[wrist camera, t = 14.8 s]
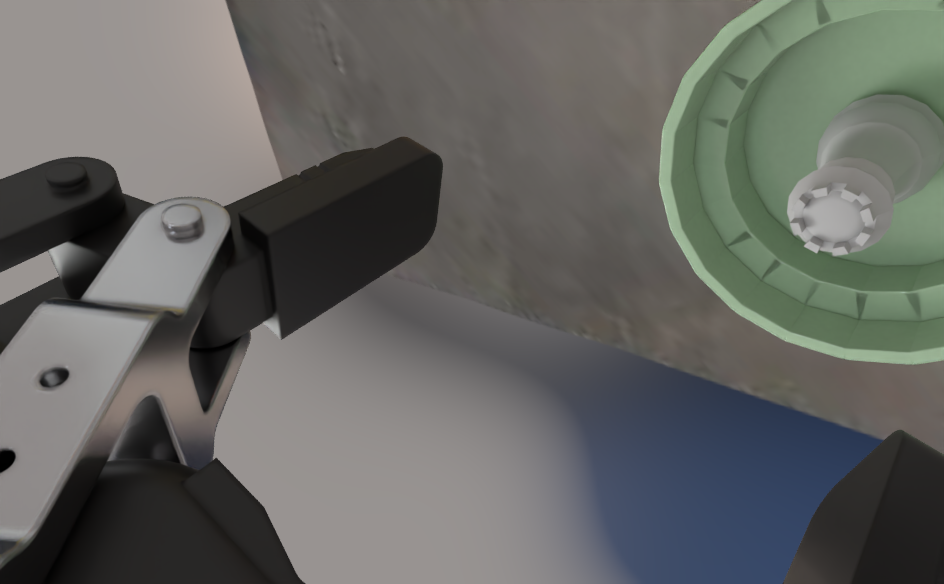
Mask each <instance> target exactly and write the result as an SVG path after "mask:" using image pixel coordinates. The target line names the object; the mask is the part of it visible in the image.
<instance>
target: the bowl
mask: <svg viewBox="0 0 944 584" xmlns="http://www.w3.org/2000/svg"><path fill="white" fill-rule="evenodd" d="M877 94H881V95H904V96H907V97H909V98H912V99H914V100H916V101H919V102H921V103H924V104H926V105H927V106H928V107H929V108H930V109H931V110H932V111H933V112H934V113H935V114H936V115H937V116H938V117H939V118H940V119H941V121H942V122H943V126H944V0H761V1H760V2H758V3H757V4H755V5H754V6H752V7H751V8H749V9H748V10H746V11H745V12H743V13H742V14H740V15H739V16H738V17H736V18H735V19H733V20H732V21H730V22H729V23H727V24H726V25H725V26H724V27H723V28H722V29H721V31H720V32H719V33H718V34H717V35H716V37H715V38H714V39H713V40H712V42H711V43H710V44H709V45H708V46H707V48H706V49H705V50H704V51H703V53H702V54H701V55H700V56H699V57H698V59H697V60H696V61H695V62H694V64H693V65H692V66H691V67H690V68H689V70H688V71H687V72H686V73H685V75H684V77H683V79H682V81H681V84H680V86H679V89H678V91H677V94H676V96H675V99H674V101H673V104H672V106H671V109H670V111H669V114H668V116H667V119H666V121H665V123H664V126H663V130H662V143H661V157H660V171H659V185H660V189H661V193H662V198H663V202H664V206H665V210H666V214H667V218H668V222H669V226H670V230H671V232H672V234H673V235H674V237H675V239H676V241H677V242H678V244H679V246H680V247H681V249H682V251H683V252H684V254H685V256H686V258H687V259H688V261H689V263H690V264H691V266H692V268H693V269H694V271H695V273H696V274H697V275H698V277H699V278H700V279H701V280H703V281H704V282H705V283H706V284H707V285H708V286H709V287H710V288H711V289H712V290H713V291H714V292H715V293H716V294H717V295H718V296H719V297H720V298H721V299H722V300H723V301H724V302H725V303H726V304H727V305H728V306H729V307H730V308H731V309H732V310H733V311H736V313H737V314H739V315H741V316H743V317H744V318H746V319H748V320H749V321H751V322H753V323H755V324H756V325H758V326H760V327H761V328H763V329H765V330H767V331H768V332H770V333H772V334H773V335H775V336H777V337H779V338H780V339H782V340H785V341H786V342H789V343H792V344H796V345H799V346H802V347H805V348H809V349H812V350H815V351H818V352H822V353H825V354H828V355H831V356H835V357H838V358H841V359H846V360H856V361H869V362H882V363H895V364H908V365H912V364H915V365H916V364H922V363H929V362H935V361H942V360H944V162H943V165H942V166H941V167H940V168H939V170H938V171H937V172H936V173H935V175H934V176H933V177H932V178H931V180H930V181H929V182H928V183H927V185H926V186H925V187H924V188H923V189H922V190H921V191H919V192H917V193H915V194H914V195H912V196H910V197H908V198H907V199H905V200H903V201H901V202H899V203H895V204H893V208H894V211H893V216H892V221H891V225H890V228H889V229H888V230H887V232H886V233H885V234H884V235H883V237H882V238H881V239H880V240H879V242H877V243H875V244H873V245H871V246H869V247H868V248H866V249H864V250H862V251H857V252H851V253H849V254H844V255H838V256H833V254H832V252H826V251H821V250H819V251H818V253H815V252H813V251H811V250H809V249H808V248H806V247H804V245H805V244H806V242H804V241H803V240H802V239H801V238H800V236H799V235H795V236H794V234H793V231H792V228H791V226H790V220H789V217H788V214H787V208H788V199H789V195H790V194H791V192H792V191H793V189H794V187H795V186H796V184H797V183H798V181H800V180H801V179H803V178H804V177H806V176H807V175H809V174H810V173H812V172H813V171H816V170H818V167H817V164H816V159H817V151H818V144H819V140H820V139H821V137H822V136H823V134H824V132H825V130H826V129H827V127H828V126H829V124H830V122H831V121H832V119H833V118H834V116H835V115H837V114H838V113H839V112H841V111H842V110H843V109H845V108H846V107H847V106H849V105H850V104H851V103H853V102H855V101H858V100H861V99H865V98H868V97H871V96H874V95H877Z"/></svg>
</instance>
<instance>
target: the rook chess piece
mask: <svg viewBox="0 0 944 584" xmlns="http://www.w3.org/2000/svg"><path fill="white" fill-rule="evenodd" d="M943 162H944V126H943V122H942V121H941V119H940V118H939V117H938V116H937V115H936V114H935V113H934V112H933V111H932V110H931V109H930V108H929V107H928V106H927V105H926V104H924V103H921V102H919V101H916V100H914V99H912V98H909V97H907V96H904V95H881V94H877V95H874V96H871V97H868V98H865V99H861V100H858V101H855V102H853V103H851V104H850V105H849V106H847V107H846V108H845V109H843V110H842V111H841V112H839V113H838V114H837V115H835V116H834V118H833V119H832V121H831V122H830V124H829V126H828V127H827V129H826V130H825V132H824V134H823V136H822V137H821V139H820V140H819V144H818V151H817V159H816V164H817V167H818V170H816V171H813V172H812V173H810V174H809V175H807V176H806V177H804V178H803V179H801V180H800V181H798V183H797V184H796V186H795V187H794V189H793V191H792V192H791V194H790V195H789V199H788V208H787V214H788V217H789V220H790V226H791V228H792V231H793V234H794V236H795V235H799V236H800V238H801V239H802V240H803V241H804V242H806V244H805V245H804V247H806V248H808V249H809V250H811V251H813V252H815V253H818V251H819V250H821V251H826V252H832V254H833V256H838V255H844V254H849V253H851V252H857V251H862V250H864V249H866V248H868V247H869V246H871V245H873V244H875V243H877V242H879V240H880V239H881V238H882V237H883V235H884V234H885V233H886V232H887V230H888V229H889V228H890V225H891V221H892V216H893V211H894V208H893V204H895V203H899V202H901V201H903V200H905V199H907V198H908V197H910V196H912V195H914V194H915V193H917V192H919V191H921V190H922V189H923V188H924V187H925V186H926V185H927V183H928V182H929V181H930V180H931V178H932V177H933V176H934V175H935V173H936V172H937V171H938V170H939V168H940V167H941V166H942V165H943Z"/></svg>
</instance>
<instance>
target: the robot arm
mask: <svg viewBox="0 0 944 584" xmlns="http://www.w3.org/2000/svg"><path fill="white" fill-rule="evenodd" d="M442 170H443V163H442V159H441V158H440V156H439V155H437V154H436V153H434V152H432V151H431V150H429V149H427V148H425V147H424V146H422V145H420V144H419V143H417V142H415V141H414V140H412V139H410V138H408V137H399V138H397V139H395V140H393V141H390V142H388V143H386V144H384V145H382V146H380V147H377V148H375V149H373V148H369V149H363V150H357V151H351V152H345V153H342V154H340V155H337V156H335V157H333V158H331V159H329V160H326V161H324V162H322V163H320V165H319V166H318V167H317V166H316V165H315V166H313V167H311V168H309V169H306V170H304V171H302V172H301V174H300V175H299V176H298V175H297V174H295V175H293V176H291V177H289V178H287V179H284V180H282V181H280V182H278V183H276V184H274V185H271V186H269V187H267V188H265V189H262V190H260V191H258V192H256V193H253V194H251V195H249V196H247V197H245V198H243V199H240V200H238V201H236V202H234V203H231V204H229V205H227V206H224V207H223V206H221V205H220V204H219V203H217V202H214V201H212V200H209V199H205V198H200V197H179V198H173V199H169V200H165V201H162V202H159V203H157V204H155V205H154V204H152V203H149V202H146V201H143V200H140V199H138V198H135V197H132V196H129V195H126V194H123V193H122V190H121V187H120V184H119V181H118V177H117V174H116V171H115V170H114V168H113V167H112V166H111V165H109V164H108V163H106V162H104V161H102V160H99V159H95V158H89V157H68V158H61V159H56V160H52V161H49V162H46V163H43V164H41V165H38V166H35V167H32V168H30V169H27V170H24V171H22V172H19V173H16V174H14V175H11V176H8V177H6V178H3V179H0V272H2V271H5V270H7V269H9V268H11V267H13V266H15V265H18V264H20V263H22V262H24V261H26V260H28V259H30V258H33V257H35V256H37V255H39V254H41V253H44V252H45V251H48V253H49V255H50V257H51V259H52V262H53V264H54V266H55V268H56V270H57V273H58V275H59V277H57V278H54V279H53V280H50V281H48V282H46V283H44V284H42V285H40V286H38V287H36V288H35V289H32V290H30V291H28V292H26V293H24V294H22V295H20V296H18V297H16V298H14V299H12V300H10V301H8V302H6V303H4V304H2V305H0V584H305V583H304V582H302V580H300V578H299V577H298V575H297V574H296V572H295V570H294V568H293V566H292V564H291V562H290V560H289V558H288V556H287V554H286V552H285V549H284V547H283V546H282V543H281V541H280V539H279V537H278V535H277V533H276V531H275V529H274V527H273V525H272V523H271V521H270V519H269V517H268V514H267V512H266V510H265V508H264V507H263V506H262V505H261V504H260V502H258V500H257V499H256V498H255V497H254V496H253V495H252V494H251V493H250V492H249V491H248V490H247V489H246V488H245V487H244V486H243V485H242V484H241V483H240V482H239V481H238V480H237V479H236V478H235V477H234V475H233V474H231V472H230V471H229V470H228V469H227V468H226V467H225V466H224V465H223V464H222V463H221V462H220V461H219V460H218V459H217V458H215V459H214V460H213V454H214V437H215V431H216V427H217V424H218V421H219V419H220V416H221V414H222V411H223V409H224V406H225V404H226V401H227V399H228V396H229V394H230V391H231V389H232V386H233V383H234V381H235V378H236V376H237V374H238V371H239V369H240V366H241V364H242V361H243V359H244V356H245V354H246V351H247V348H248V346H249V343H250V339H251V332H250V330H252V329H253V328H255V327H257V326H258V325H260V324H262V323H263V324H264V325H265V326H266V327H267V328H268V329H270V330H271V331H272V332H273V333H274V334H275V335H277V336H278V337H279V338H280V339H281V340H282V339H283V338H285V337H286V336H288V335H289V334H291V333H293V332H294V331H296V330H297V329H299V328H300V327H302V326H304V325H305V324H307V323H308V322H310V321H311V320H313V319H315V318H316V317H318V316H319V315H321V314H322V313H324V312H326V311H327V310H328V309H330V308H332V307H333V306H335V305H336V304H338V303H339V302H341V301H343V300H344V299H346V298H347V297H349V296H351V295H352V294H354V293H355V292H357V291H358V290H360V289H361V288H363V287H364V286H366V285H368V284H369V283H371V282H372V281H374V280H375V279H377V278H379V277H380V276H382V275H383V274H385V273H386V272H388V271H390V270H391V269H393V268H394V267H396V266H397V265H399V264H401V263H402V262H404V261H405V260H407V259H408V258H410V257H411V256H413V255H415V254H416V253H418V252H419V251H420V250H421V249H423V248H424V246H425V245H426V244H427V243H428V242H429V240H430V238H431V237H432V235H433V233H434V230H435V227H436V223H437V214H438V206H439V197H440V188H441V179H442ZM783 584H944V455H943V454H942V453H940V452H938V451H937V450H935V449H933V448H932V447H930V446H928V445H926V444H925V443H923V442H921V441H920V440H918V439H916V438H915V437H913V436H911V435H909V434H908V433H906V432H904V431H903V430H897V431H895V432H894V433H892V434H891V435H890V436H888V437H887V438H886V439H885V440H884V441H883V442H882V443H881V444H880V445H879V446H878V447H877V448H875V449H874V450H873V451H872V452H871V453H870V454H869V455H868V456H867V457H866V458H865V459H863V460H862V461H861V462H860V463H859V464H858V465H857V466H856V467H855V468H854V469H853V470H852V471H850V472H849V473H848V474H847V475H846V476H845V477H844V478H843V479H842V480H841V481H839V482H838V483H837V484H836V485H835V486H834V487H833V488H832V490H831V491H830V492H829V493H828V494H827V496H826V497H825V498H824V500H823V501H822V502H821V504H820V505H819V507H818V508H817V510H816V512H815V514H814V515H813V517H812V519H811V521H810V523H809V525H808V528H807V530H806V532H805V534H804V537H803V539H802V541H801V543H800V546H799V548H798V550H797V553H796V555H795V557H794V559H793V562H792V564H791V566H790V569H789V571H788V573H787V575H786V578H785V580H784V582H783Z"/></svg>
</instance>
